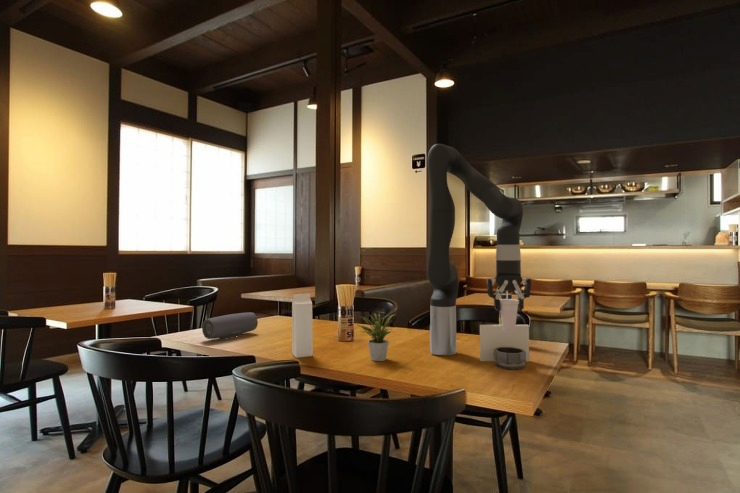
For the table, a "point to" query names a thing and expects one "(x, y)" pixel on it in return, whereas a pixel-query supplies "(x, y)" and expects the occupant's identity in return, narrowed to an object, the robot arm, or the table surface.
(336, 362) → the table surface
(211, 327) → the bluetooth speaker
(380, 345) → the house plant
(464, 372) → the table surface
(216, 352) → the table surface
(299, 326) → the milk
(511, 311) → the smoothie
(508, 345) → the mounting board
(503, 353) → the cup bracket
